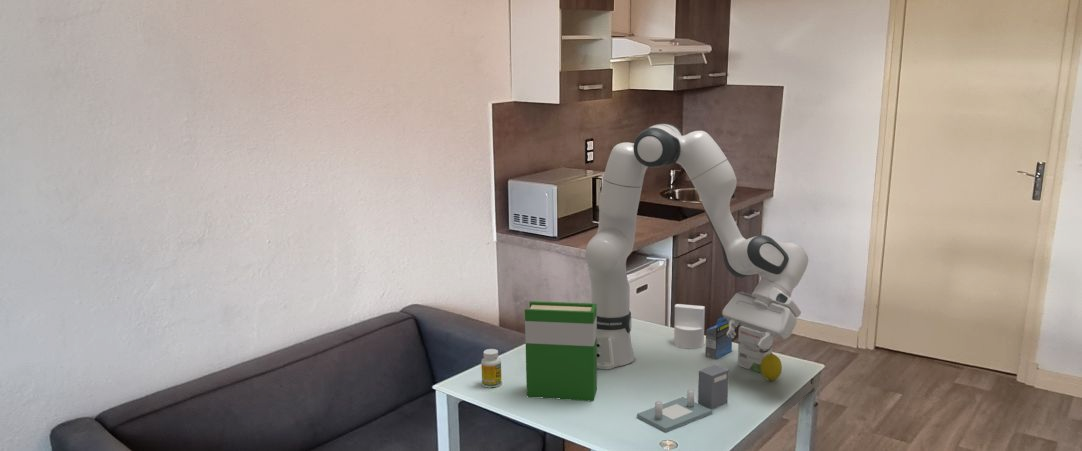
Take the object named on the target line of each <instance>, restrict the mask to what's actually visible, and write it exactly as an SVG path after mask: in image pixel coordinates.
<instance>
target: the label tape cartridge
mask: <svg viewBox="0 0 1082 451" xmlns="http://www.w3.org/2000/svg"><path fill="white" fill-rule="evenodd" d="M728 330H729V321H727V320H726V319H725V318H724V316H721V317H719V318H718V319H717V320H716V325H714V326H711V327H709V328H707V329H706V330H705V354H704V355H705V357H706V358H710V359H712V360H717V359H719V358H721V357H723V356H725V355H726V354H729V353H730V352H732V351H733V350H732V349H733V348H732V347H733V339H732V338H729V337H728V336H727V335H726V334H727V332H728Z"/></svg>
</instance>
